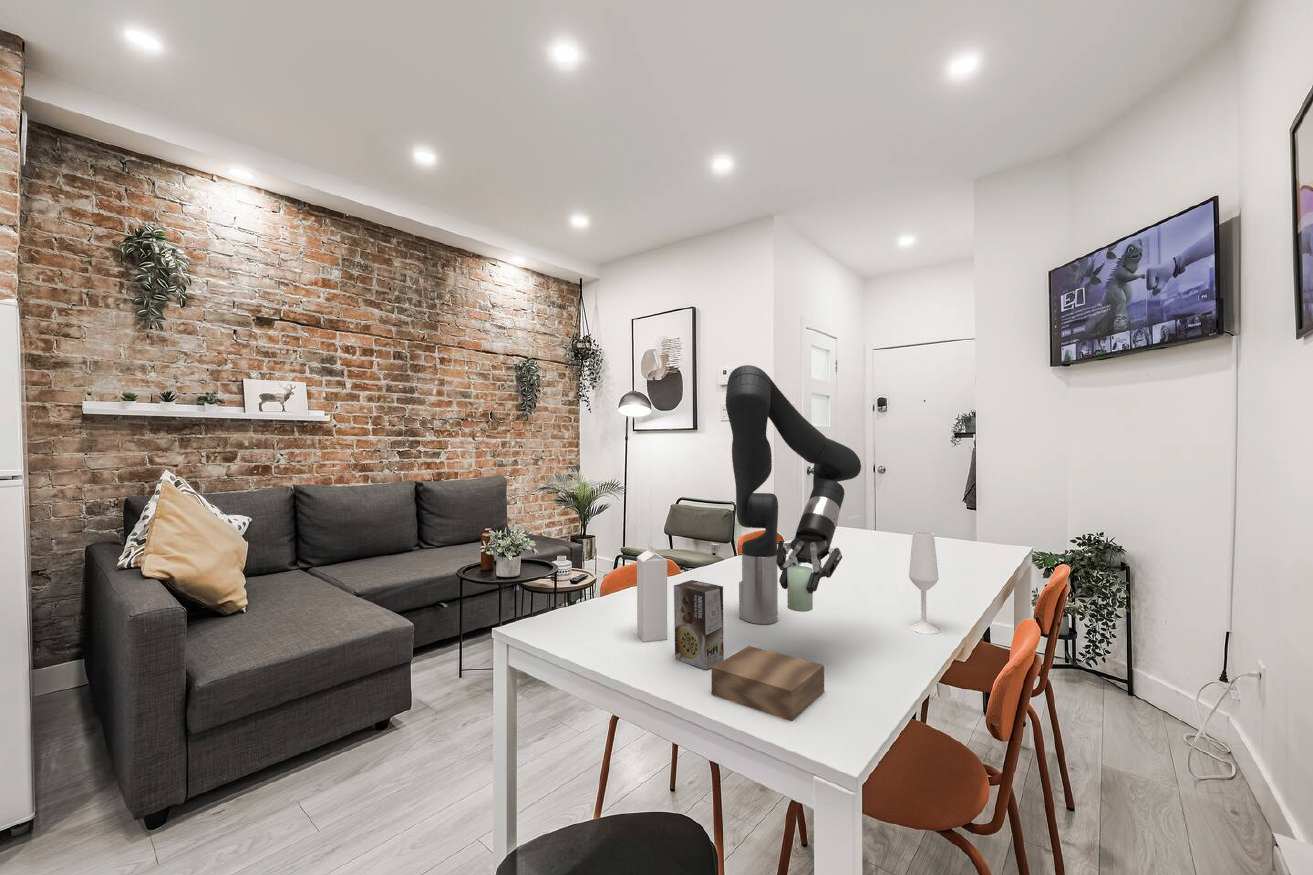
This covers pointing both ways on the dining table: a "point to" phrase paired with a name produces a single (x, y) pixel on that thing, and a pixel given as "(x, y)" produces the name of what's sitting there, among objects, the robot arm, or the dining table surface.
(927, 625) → the champagne flute
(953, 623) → the dining table surface
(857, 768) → the dining table surface
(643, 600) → the milk
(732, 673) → the walnut base
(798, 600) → the sage cylinder
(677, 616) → the coffee box
